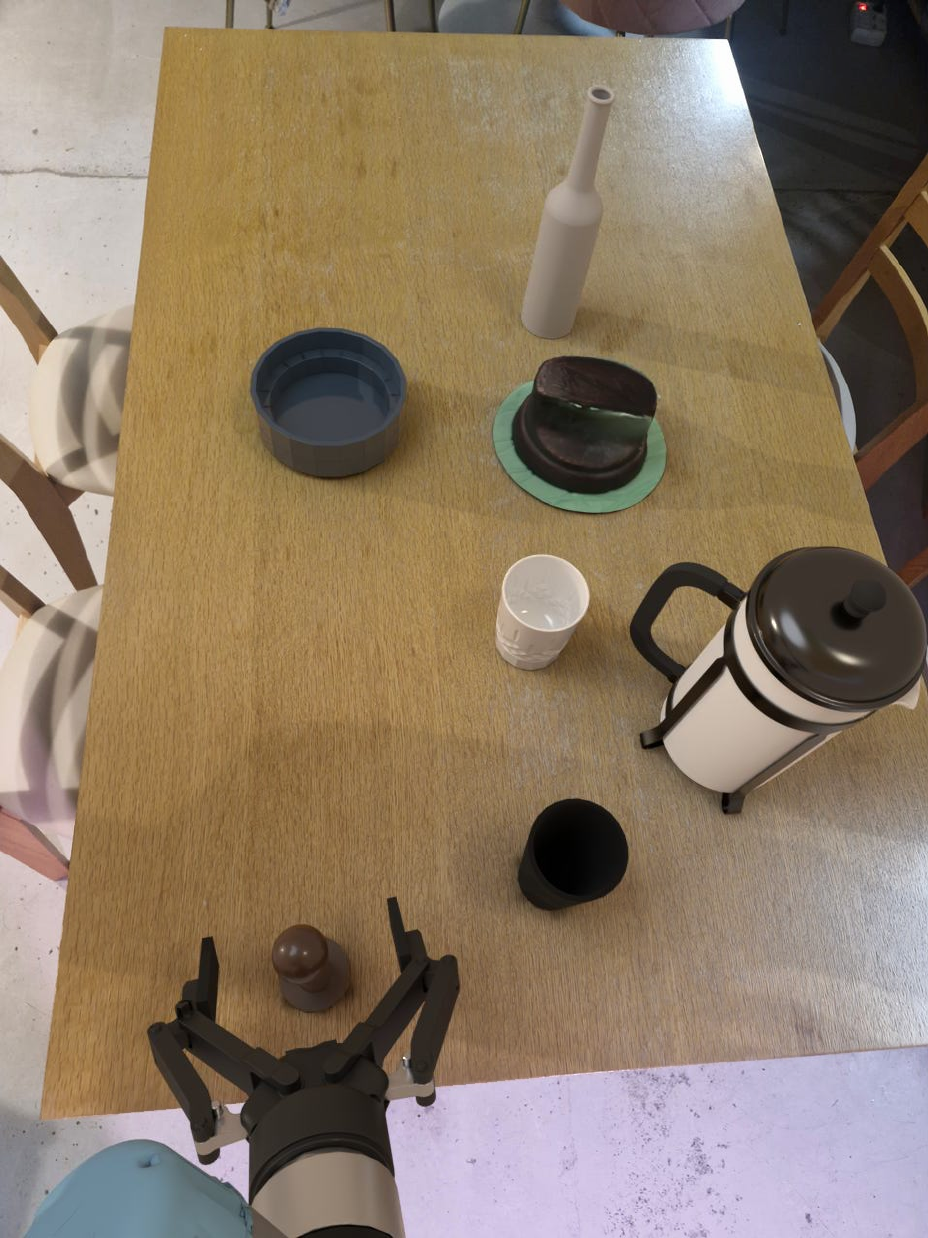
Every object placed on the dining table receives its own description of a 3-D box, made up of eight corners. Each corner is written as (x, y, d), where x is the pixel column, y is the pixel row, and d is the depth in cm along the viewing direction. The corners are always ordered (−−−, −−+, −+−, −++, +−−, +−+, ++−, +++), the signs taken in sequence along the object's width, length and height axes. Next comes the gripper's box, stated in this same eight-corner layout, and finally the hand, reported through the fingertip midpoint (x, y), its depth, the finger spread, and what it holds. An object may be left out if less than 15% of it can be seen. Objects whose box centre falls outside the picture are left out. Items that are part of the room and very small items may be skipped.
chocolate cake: (658, 369, 102) (692, 510, 93) (513, 418, 108) (532, 555, 99) (630, 282, 89) (665, 437, 81) (467, 343, 95) (484, 493, 87)
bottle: (578, 337, 104) (643, 113, 79) (526, 340, 103) (575, 114, 78) (567, 298, 107) (626, 71, 82) (516, 300, 106) (560, 70, 81)
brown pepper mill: (278, 1014, 67) (248, 1002, 51) (282, 939, 70) (254, 905, 54) (349, 1011, 68) (342, 998, 52) (350, 937, 70) (344, 902, 54)
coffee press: (772, 661, 86) (950, 485, 60) (801, 818, 79) (1019, 698, 52) (605, 654, 85) (711, 472, 58) (619, 814, 77) (747, 689, 51)
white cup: (531, 591, 87) (549, 539, 78) (583, 647, 85) (607, 599, 76) (472, 633, 84) (484, 583, 76) (524, 691, 82) (543, 648, 73)
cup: (532, 817, 77) (558, 779, 66) (606, 863, 75) (645, 831, 65) (489, 892, 73) (509, 865, 63) (567, 941, 72) (601, 922, 61)
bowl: (252, 479, 90) (245, 443, 85) (261, 364, 97) (255, 324, 92) (405, 482, 92) (407, 447, 87) (403, 368, 99) (405, 330, 94)
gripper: (84, 1322, 42) (140, 1011, 62) (558, 1185, 47) (470, 936, 67) (47, 1215, 40) (117, 927, 60) (551, 1082, 44) (462, 854, 64)
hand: (303, 931), depth 63 cm, fingers open, 13 cm apart
